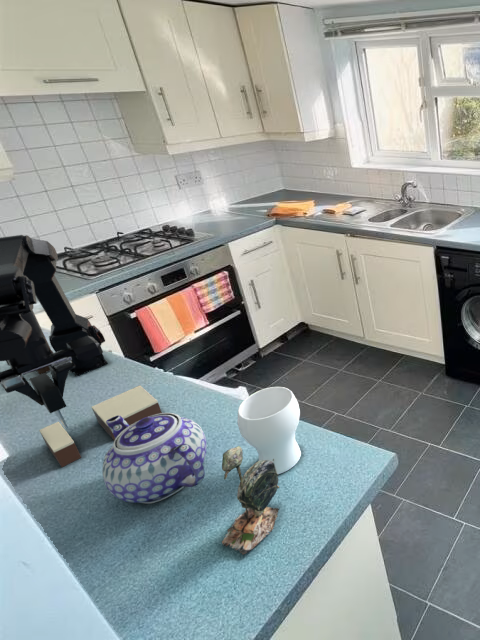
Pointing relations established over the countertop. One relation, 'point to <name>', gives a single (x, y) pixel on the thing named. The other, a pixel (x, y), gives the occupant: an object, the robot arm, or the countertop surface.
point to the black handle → (49, 395)
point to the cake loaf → (126, 407)
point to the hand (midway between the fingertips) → (51, 400)
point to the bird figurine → (251, 501)
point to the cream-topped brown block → (60, 444)
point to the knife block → (43, 369)
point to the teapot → (154, 457)
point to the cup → (271, 426)
